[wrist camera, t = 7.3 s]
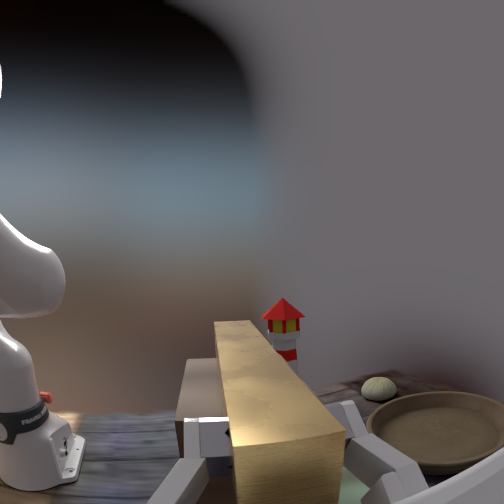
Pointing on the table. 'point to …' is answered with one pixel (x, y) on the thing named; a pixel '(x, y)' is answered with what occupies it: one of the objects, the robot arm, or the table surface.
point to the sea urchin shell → (378, 389)
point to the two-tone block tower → (210, 405)
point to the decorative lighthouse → (284, 330)
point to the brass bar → (275, 424)
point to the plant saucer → (441, 429)
